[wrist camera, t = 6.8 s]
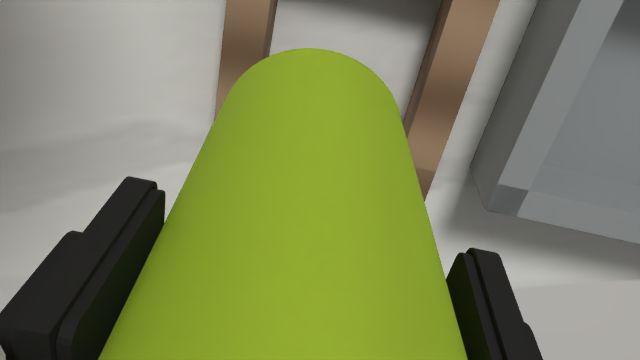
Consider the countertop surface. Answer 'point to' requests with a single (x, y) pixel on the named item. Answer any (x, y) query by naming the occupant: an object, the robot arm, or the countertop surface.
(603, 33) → the slate tray
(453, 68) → the walnut holder
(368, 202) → the soap dispenser
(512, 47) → the countertop surface
